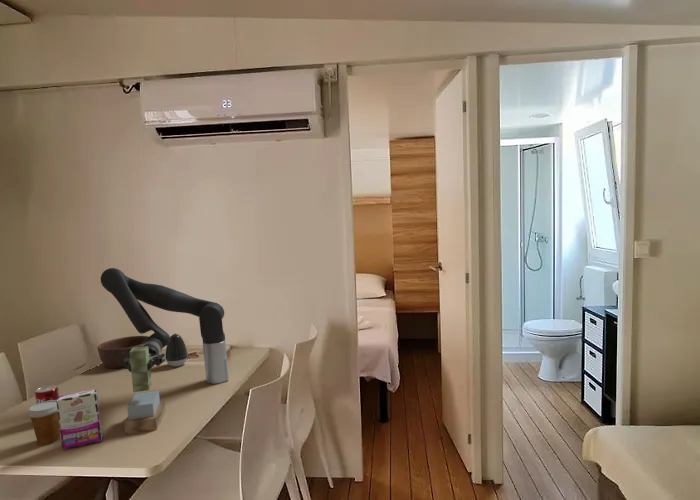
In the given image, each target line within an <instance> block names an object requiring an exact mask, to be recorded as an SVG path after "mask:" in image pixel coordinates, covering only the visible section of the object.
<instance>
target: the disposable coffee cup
mask: <svg viewBox="0 0 700 500" xmlns="http://www.w3.org/2000/svg"><path fill="white" fill-rule="evenodd" d="M56 401H57V400H50V401H45V402H41V403H38V404H36V403H35V404H34V405H32V406H30V407H29V408H28V412H27V415H28V416H29V418H30V421H31V424H32V427H33V431H34V435H35V439H36V443H37V444H38V445H39V446H46V445H51V444H54V443H56V442H58V441H59V440H60V439H61V432H60V425H59V417H58V409H57V402H56Z"/></svg>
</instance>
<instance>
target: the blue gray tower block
mask: <svg viewBox="0 0 700 500" xmlns="http://www.w3.org/2000/svg"><path fill="white" fill-rule="evenodd" d="M160 402H161V400H160V391H159V390H155V391H147V392H140V393H138V392H137V393H135V394H134V396H133V397H132V399H131V400H130V401H129V404H128V405H127V417H128V419H129V420H132V419H139V418H146V417H153V416H154V415H155V413H156V411H157V408H158V406H159V404H160Z"/></svg>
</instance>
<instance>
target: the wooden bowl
mask: <svg viewBox="0 0 700 500" xmlns="http://www.w3.org/2000/svg"><path fill="white" fill-rule="evenodd" d="M148 337H149V336H148V335H132V336H130V335H129V336H125V337H119V338H114V339H111V340H107V341H104V342H102V343H100V344H99V345H98V346H97V349H96V350H97V353H98V356H99V360H100V361H101V362H102V364H103V365H104V366H105V367H106V368H109V369H125V359H124V358H128V359H129V358H130V351H131V349H132V348H135V347H141V346H142V343H143V341H144V340H145V339H147V338H148Z"/></svg>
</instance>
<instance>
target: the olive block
mask: <svg viewBox="0 0 700 500" xmlns="http://www.w3.org/2000/svg"><path fill="white" fill-rule="evenodd" d="M149 361H150V360H149V349H148V346H145V347H135V348H132V349H131V351H130V362H131V372H130V373H131V380H132V391H133V393H138V392H145V391H147V392H148V391H150V389H151V387H152V385H153V384H152V374H151V369H150V370H147V363H148V362H149Z"/></svg>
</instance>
